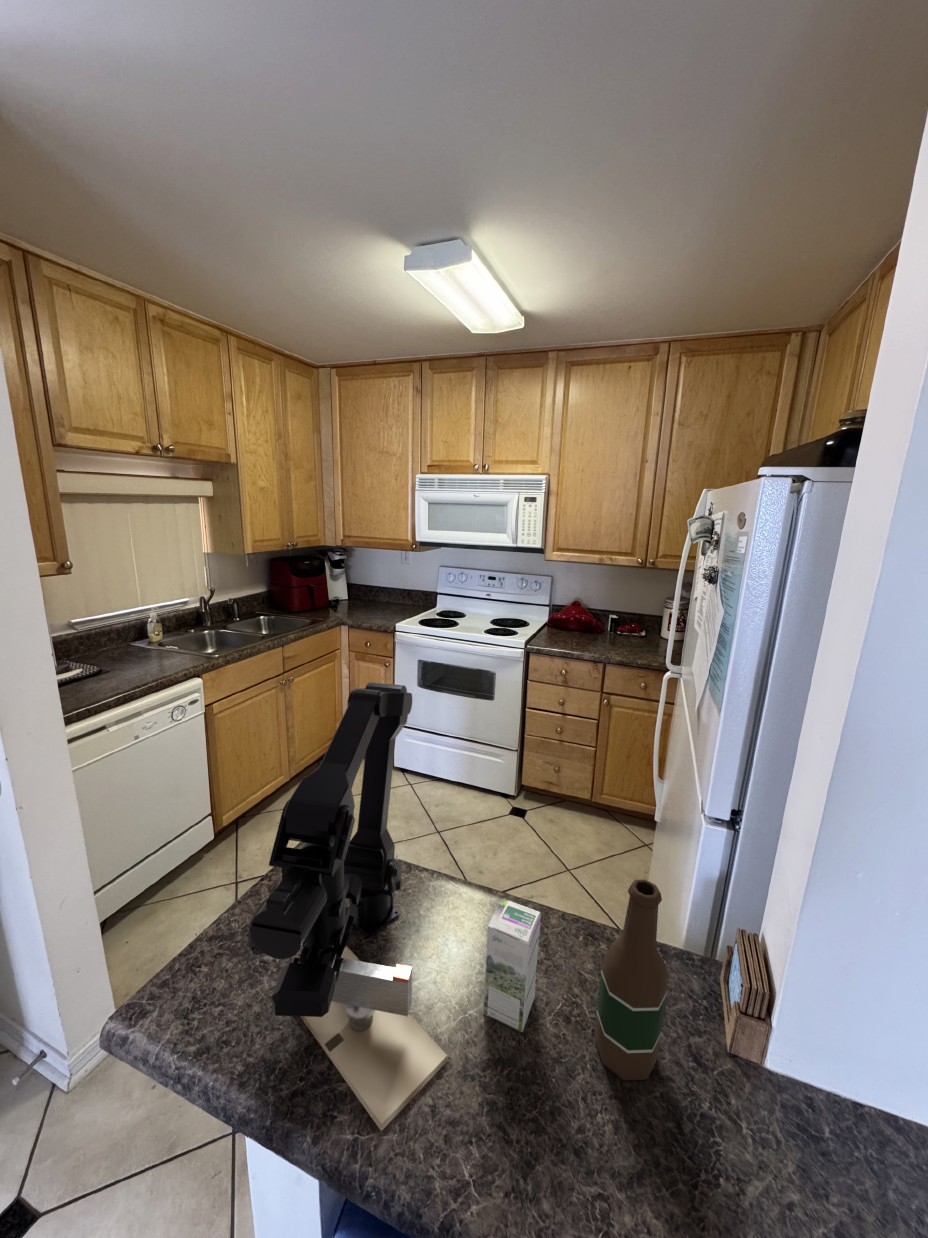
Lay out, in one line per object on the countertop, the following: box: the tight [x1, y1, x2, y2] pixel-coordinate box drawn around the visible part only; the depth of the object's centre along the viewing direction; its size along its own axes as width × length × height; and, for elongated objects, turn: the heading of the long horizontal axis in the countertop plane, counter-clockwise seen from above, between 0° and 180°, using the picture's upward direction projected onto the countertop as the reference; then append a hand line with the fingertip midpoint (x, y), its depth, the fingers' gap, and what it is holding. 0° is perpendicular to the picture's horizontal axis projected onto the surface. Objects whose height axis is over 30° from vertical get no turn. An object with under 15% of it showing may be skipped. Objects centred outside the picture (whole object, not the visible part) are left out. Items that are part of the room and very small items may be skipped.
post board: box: [299, 945, 448, 1132], centre depth 65 cm, size 10×22×3 cm, turn 46°
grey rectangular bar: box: [332, 957, 413, 1022], centre depth 64 cm, size 4×13×7 cm, turn 80°
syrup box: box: [483, 898, 542, 1033], centre depth 67 cm, size 6×6×14 cm
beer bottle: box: [594, 879, 669, 1081], centre depth 61 cm, size 8×8×24 cm
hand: (324, 989), depth 65 cm, fingers open, 2 cm apart
